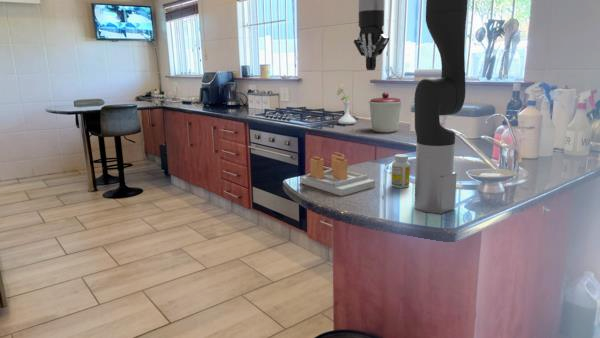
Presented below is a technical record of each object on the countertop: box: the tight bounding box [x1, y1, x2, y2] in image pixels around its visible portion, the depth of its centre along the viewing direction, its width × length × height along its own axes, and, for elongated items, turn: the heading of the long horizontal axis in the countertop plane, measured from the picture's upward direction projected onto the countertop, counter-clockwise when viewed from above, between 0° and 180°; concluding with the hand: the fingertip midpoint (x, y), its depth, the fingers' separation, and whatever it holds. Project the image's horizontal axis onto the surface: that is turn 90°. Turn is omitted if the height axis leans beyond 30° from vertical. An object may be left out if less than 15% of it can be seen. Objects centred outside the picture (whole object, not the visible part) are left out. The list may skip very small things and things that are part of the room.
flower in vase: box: [336, 83, 357, 126], centre depth 265 cm, size 13×11×25 cm
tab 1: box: [309, 155, 325, 179], centre depth 136 cm, size 3×3×7 cm
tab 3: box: [334, 157, 348, 180], centre depth 134 cm, size 3×3×7 cm
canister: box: [368, 92, 403, 134], centre depth 234 cm, size 18×18×21 cm
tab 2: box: [331, 152, 346, 172], centre depth 141 cm, size 3×3×7 cm
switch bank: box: [300, 168, 376, 197], centre depth 136 cm, size 19×14×3 cm
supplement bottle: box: [390, 153, 411, 189], centre depth 132 cm, size 5×5×10 cm
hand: (370, 70), depth 132 cm, fingers closed
